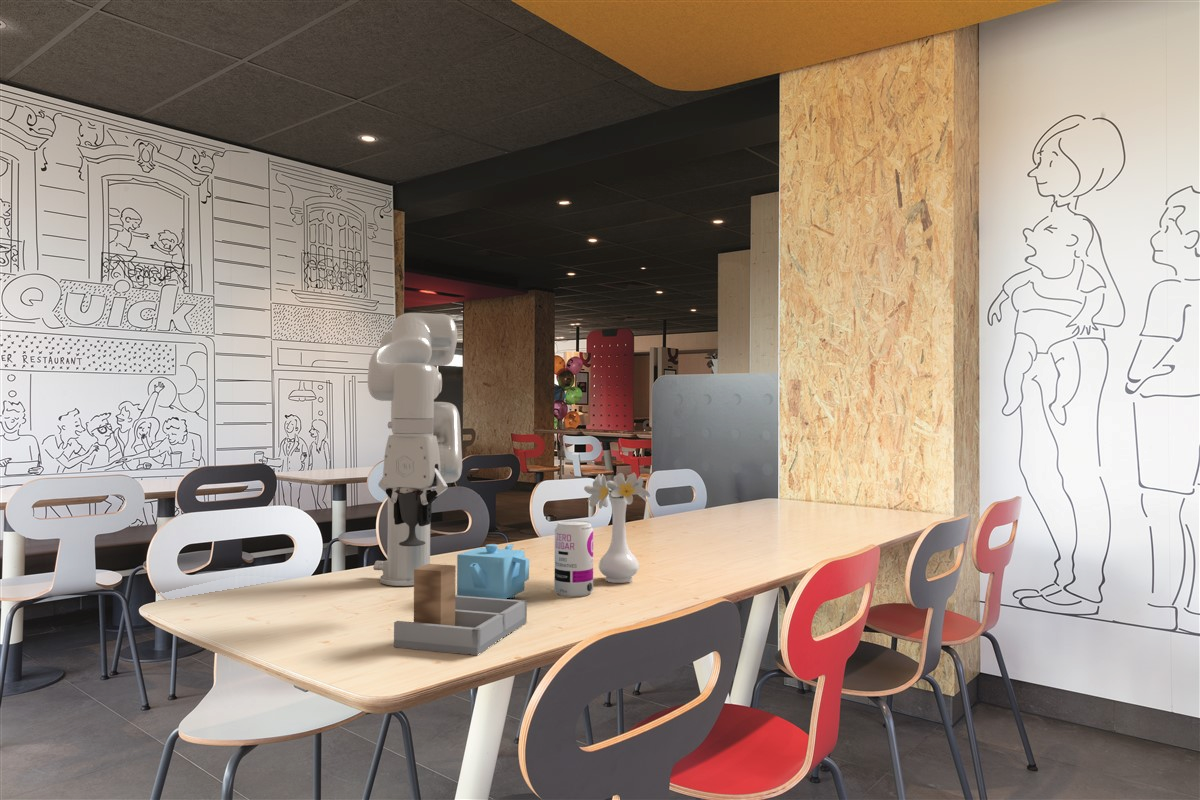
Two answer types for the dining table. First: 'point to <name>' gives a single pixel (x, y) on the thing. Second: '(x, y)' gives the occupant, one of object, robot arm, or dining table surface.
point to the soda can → (574, 558)
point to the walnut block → (434, 594)
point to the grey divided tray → (465, 626)
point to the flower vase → (617, 523)
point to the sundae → (410, 513)
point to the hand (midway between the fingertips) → (412, 523)
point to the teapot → (492, 572)
